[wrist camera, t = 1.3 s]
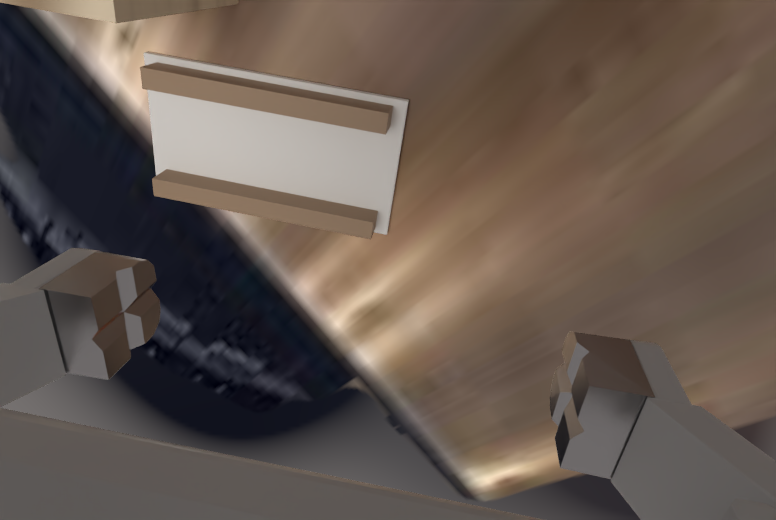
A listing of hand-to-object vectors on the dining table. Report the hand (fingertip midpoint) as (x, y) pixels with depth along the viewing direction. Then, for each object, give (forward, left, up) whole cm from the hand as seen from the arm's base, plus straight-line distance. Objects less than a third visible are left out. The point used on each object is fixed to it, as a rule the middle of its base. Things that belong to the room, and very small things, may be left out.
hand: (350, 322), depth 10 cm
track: (-6, -13, -30) cm, 33 cm away
